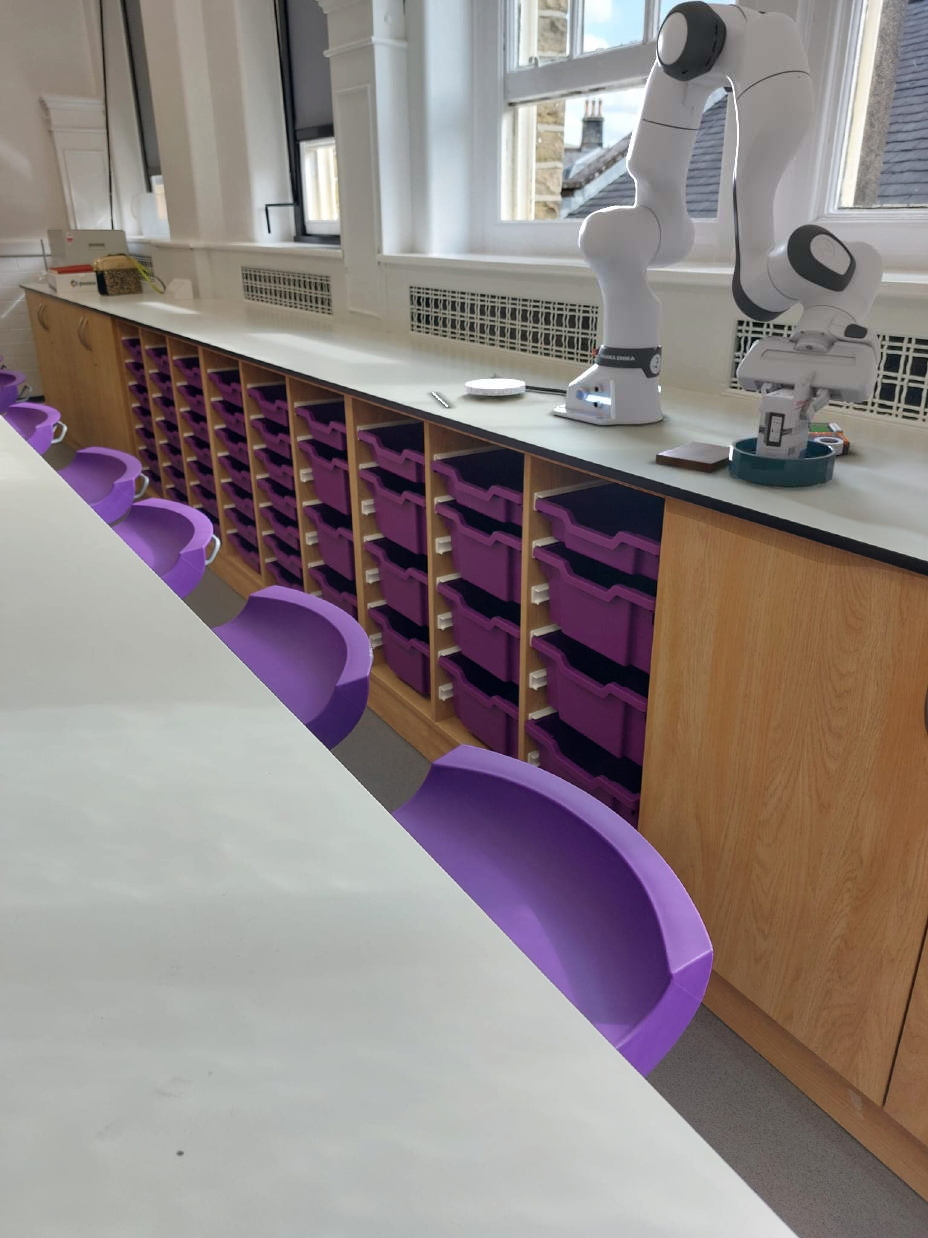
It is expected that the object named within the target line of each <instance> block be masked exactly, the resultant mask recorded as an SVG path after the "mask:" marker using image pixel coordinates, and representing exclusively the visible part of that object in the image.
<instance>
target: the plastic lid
mask: <svg viewBox="0 0 928 1238" xmlns="http://www.w3.org/2000/svg"><path fill="white" fill-rule="evenodd" d="M525 385H526V382H525V381H522V380H517V379H510V378H499V379H494V378H486V379H485V378H484V379H475V380H470V381H467V382H466V383H464V388H465V389H464V390H465V392H466V393H467V394H471V395H475V396H489V397H490V396H492V397H495V396H511V395H518V394H522V393H524V392H526V389H525Z"/></svg>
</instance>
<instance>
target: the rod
mask: <svg viewBox="0 0 928 1238" xmlns="http://www.w3.org/2000/svg"><path fill="white" fill-rule="evenodd" d="M431 394H432V395H433V396H434V397H435V398H436V399H437V400H438V401H439V402H440V403H441V404H442V405H443V406H444V407H445V408H446V409H450V408H451V406H450V405H449V404H448V403H447V402H446V401H445V400H444V399H442V397H440V396H439V395H438V394H437V393H436V392H435V391H432V392H431Z"/></svg>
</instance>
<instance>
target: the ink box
mask: <svg viewBox="0 0 928 1238" xmlns="http://www.w3.org/2000/svg"><path fill="white" fill-rule="evenodd" d="M814 372H815V370H814V371H812V372H808V373H806V374H803V375H800V376H797V377H796V379H795V387H794V388H786V387H785V388H782V389H780V390H777V391H774V392H772V393H769V394H766V395H763V396H762V395H761V396H762V397H761V403H762V405H761V404H760V405H761V413H760V416H759V423H758V431H757V437H758V440H757V448H756V455H759V456H765V457H773V458H785V459H805V454H806V448H807V441H808V434H809V428H810V422H811V421H808V420H802V419H801V417H800V411H801V410H802V406H803V404H810V403H811V402H812V401H814V400H815V398H813V395H814V388H813V387H810V382H811V379H812V377H813V374H814ZM806 379H807V380H809V384H808V385H805V386H802V383H803V382H805V380H806Z"/></svg>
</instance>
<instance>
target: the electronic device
mask: <svg viewBox="0 0 928 1238" xmlns="http://www.w3.org/2000/svg"><path fill="white" fill-rule="evenodd" d="M808 440H813V441H818V442H822V443H825V444H828V445H830V446H833V447H834V448H835V449H836V450H837V452H836V456H837V455H848V454H849V452H850V445H851V442H850V440H848V439H847V438H846V436H845V435H844V431H843V430H842V428H841V427H840V426H839V425H838V423H834V422H813V421H810V428H809V434H808Z"/></svg>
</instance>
